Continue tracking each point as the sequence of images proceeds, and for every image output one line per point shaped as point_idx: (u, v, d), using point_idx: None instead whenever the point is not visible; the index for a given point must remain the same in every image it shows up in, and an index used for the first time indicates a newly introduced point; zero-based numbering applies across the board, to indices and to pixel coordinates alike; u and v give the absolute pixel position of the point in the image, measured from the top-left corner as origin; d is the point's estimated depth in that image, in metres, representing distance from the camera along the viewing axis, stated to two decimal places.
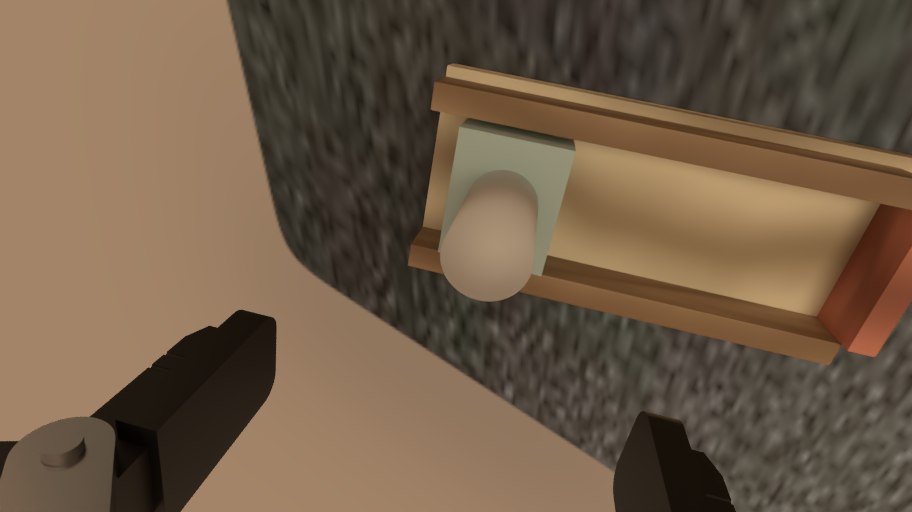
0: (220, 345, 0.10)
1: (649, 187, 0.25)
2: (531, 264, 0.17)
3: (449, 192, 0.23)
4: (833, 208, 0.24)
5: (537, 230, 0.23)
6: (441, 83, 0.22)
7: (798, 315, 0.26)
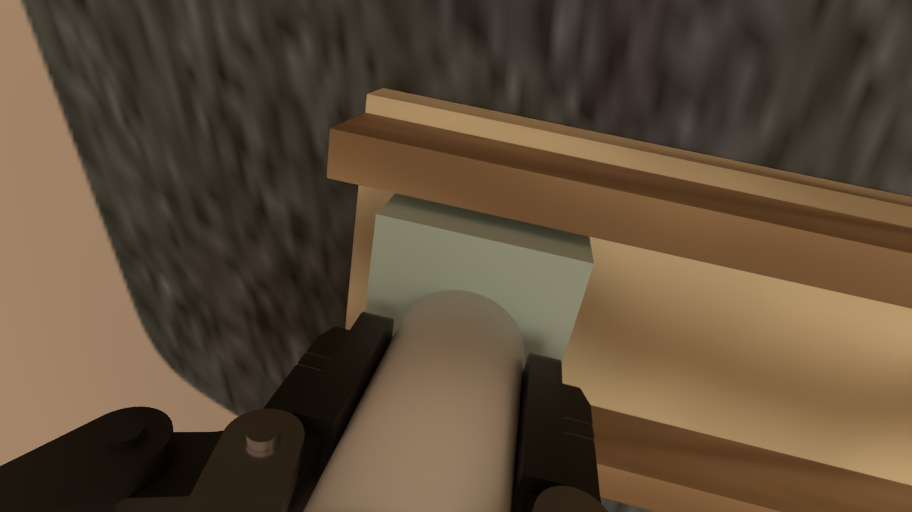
0: (359, 345, 0.10)
1: (712, 299, 0.15)
2: None
3: None
4: None
5: None
6: (342, 131, 0.12)
7: None
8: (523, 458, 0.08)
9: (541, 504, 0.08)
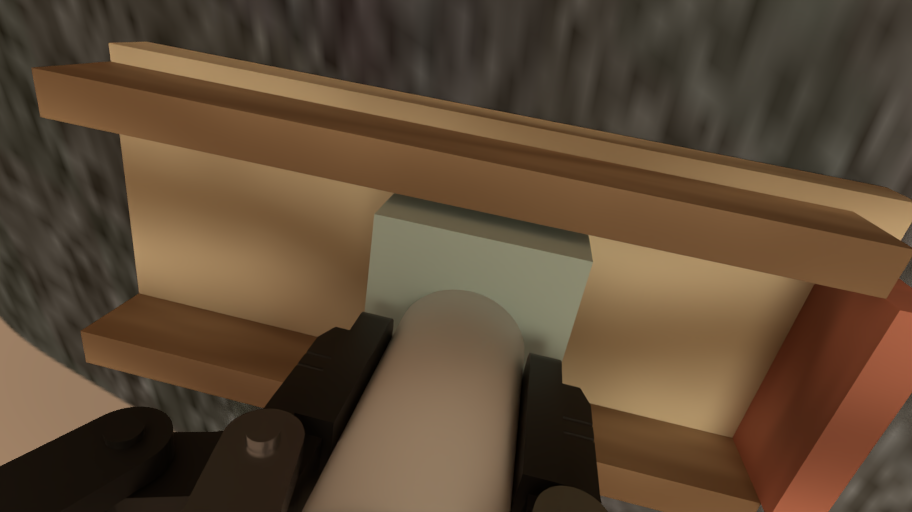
0: (359, 345, 0.10)
1: None
2: None
3: None
4: (745, 275, 0.14)
5: None
6: (44, 71, 0.13)
7: (701, 438, 0.16)
8: (523, 458, 0.08)
9: (541, 504, 0.08)
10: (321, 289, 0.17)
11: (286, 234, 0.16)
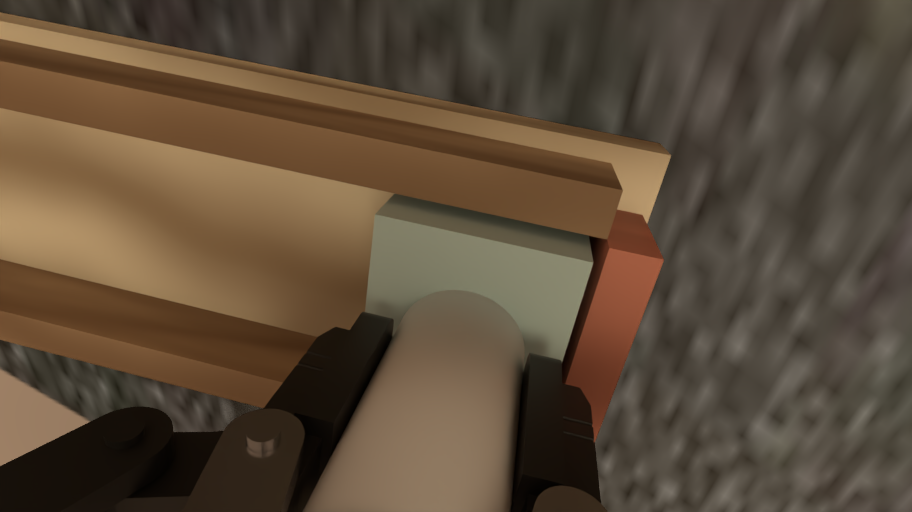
0: (359, 344, 0.10)
1: (258, 196, 0.16)
2: None
3: None
4: None
5: None
6: None
7: None
8: (523, 458, 0.08)
9: (541, 504, 0.08)
10: (148, 249, 0.17)
11: (108, 193, 0.17)
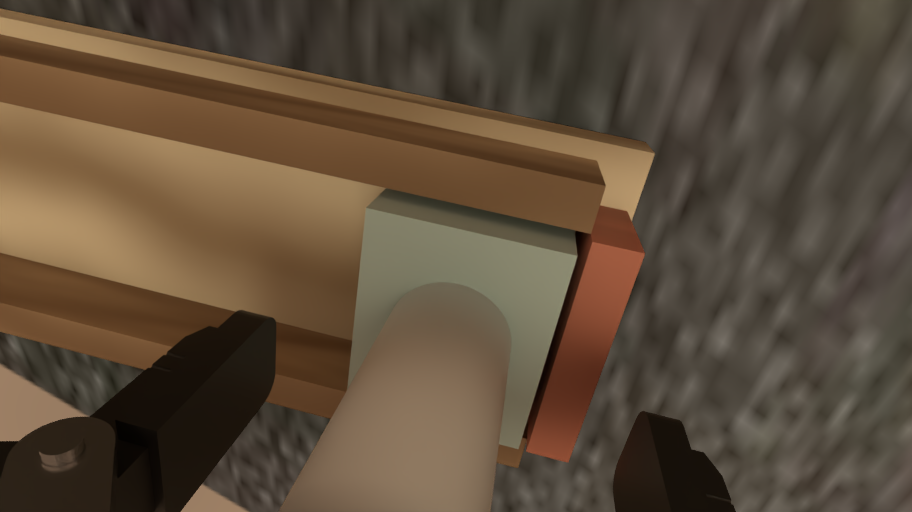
0: (220, 345, 0.10)
1: (252, 191, 0.16)
2: None
3: (357, 314, 0.13)
4: None
5: (510, 381, 0.13)
6: None
7: None
8: None
9: None
10: (144, 242, 0.18)
11: (104, 187, 0.17)
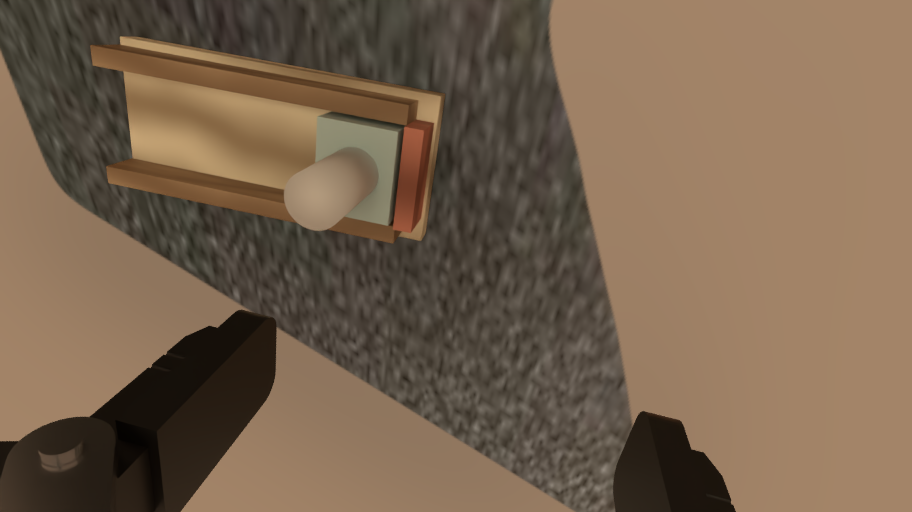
0: (220, 345, 0.10)
1: (270, 121, 0.35)
2: (342, 202, 0.26)
3: None
4: None
5: (380, 191, 0.32)
6: (95, 46, 0.32)
7: None
8: None
9: None
10: (217, 150, 0.36)
11: (199, 122, 0.36)
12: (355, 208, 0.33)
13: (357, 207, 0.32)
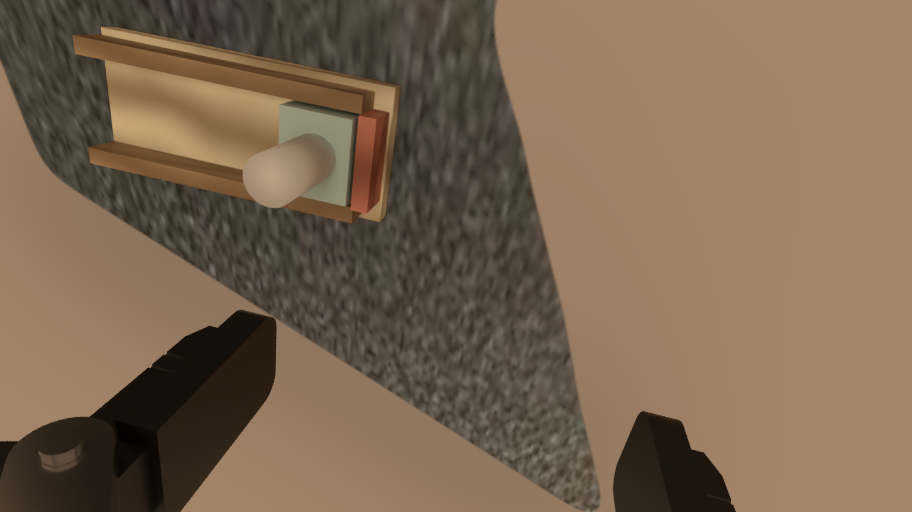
0: (220, 345, 0.10)
1: (240, 108, 0.37)
2: (294, 183, 0.29)
3: None
4: None
5: (337, 174, 0.35)
6: (77, 36, 0.35)
7: None
8: None
9: None
10: (192, 134, 0.39)
11: (175, 108, 0.38)
12: (315, 190, 0.35)
13: (317, 189, 0.35)
